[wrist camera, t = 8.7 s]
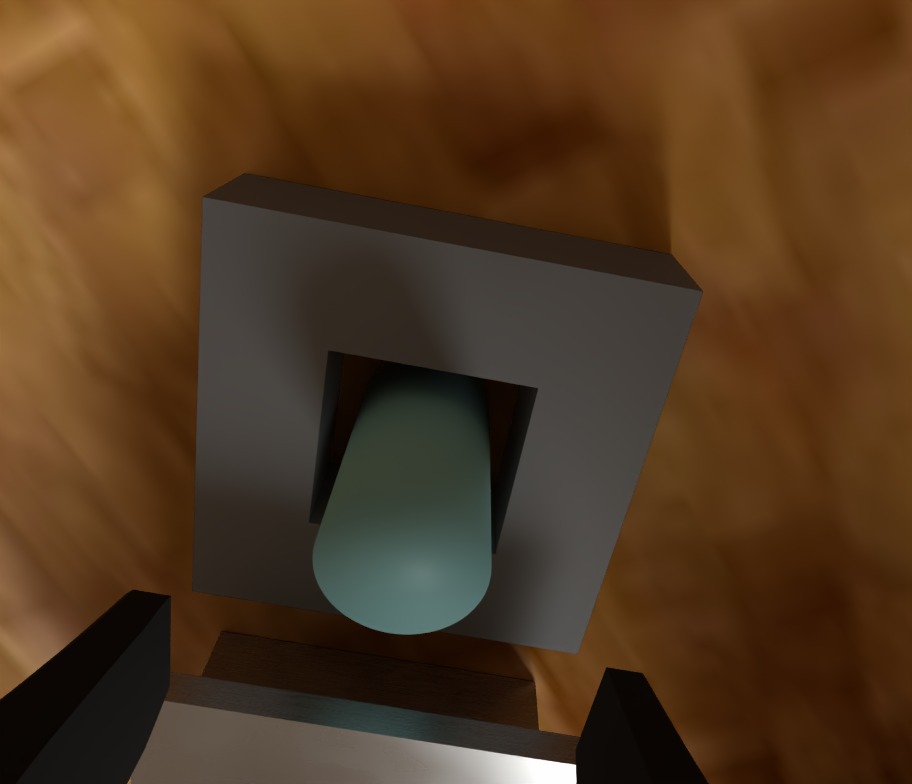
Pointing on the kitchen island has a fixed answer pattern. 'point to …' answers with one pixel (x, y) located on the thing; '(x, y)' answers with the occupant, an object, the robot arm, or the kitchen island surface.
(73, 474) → the kitchen island surface
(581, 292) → the socket block
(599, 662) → the kitchen island surface
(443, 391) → the peg
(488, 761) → the grey rectangular block
